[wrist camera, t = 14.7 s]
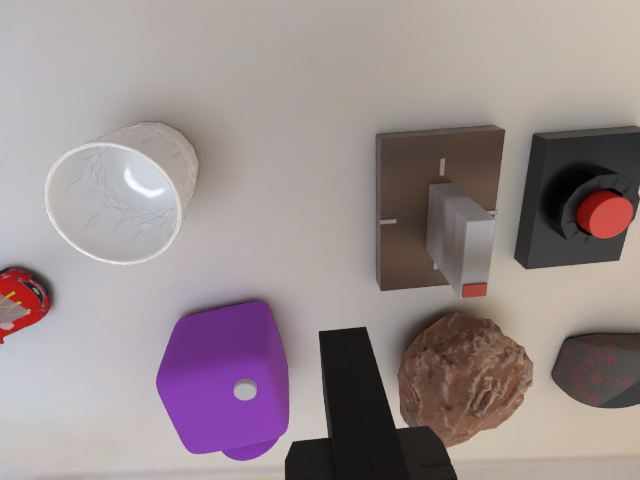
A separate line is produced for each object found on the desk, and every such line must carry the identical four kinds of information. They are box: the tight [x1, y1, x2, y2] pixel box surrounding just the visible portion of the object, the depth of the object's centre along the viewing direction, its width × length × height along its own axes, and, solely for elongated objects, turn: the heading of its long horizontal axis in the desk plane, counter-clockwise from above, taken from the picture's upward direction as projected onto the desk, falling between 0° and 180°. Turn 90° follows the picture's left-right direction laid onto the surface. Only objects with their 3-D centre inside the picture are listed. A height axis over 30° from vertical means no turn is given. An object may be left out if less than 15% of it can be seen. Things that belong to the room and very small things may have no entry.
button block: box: [515, 126, 640, 269], centre depth 38 cm, size 12×9×4 cm
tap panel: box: [376, 125, 505, 291], centre depth 38 cm, size 14×10×2 cm
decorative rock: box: [397, 312, 533, 448], centre depth 41 cm, size 13×11×10 cm
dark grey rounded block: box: [552, 334, 640, 408], centre depth 47 cm, size 8×14×4 cm, turn 86°
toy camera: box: [156, 302, 289, 461], centre depth 39 cm, size 11×14×10 cm
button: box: [576, 190, 633, 238], centre depth 35 cm, size 4×4×2 cm
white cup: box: [44, 122, 199, 265], centre depth 30 cm, size 8×8×10 cm
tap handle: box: [426, 183, 496, 298], centre depth 33 cm, size 6×2×8 cm, turn 3°
